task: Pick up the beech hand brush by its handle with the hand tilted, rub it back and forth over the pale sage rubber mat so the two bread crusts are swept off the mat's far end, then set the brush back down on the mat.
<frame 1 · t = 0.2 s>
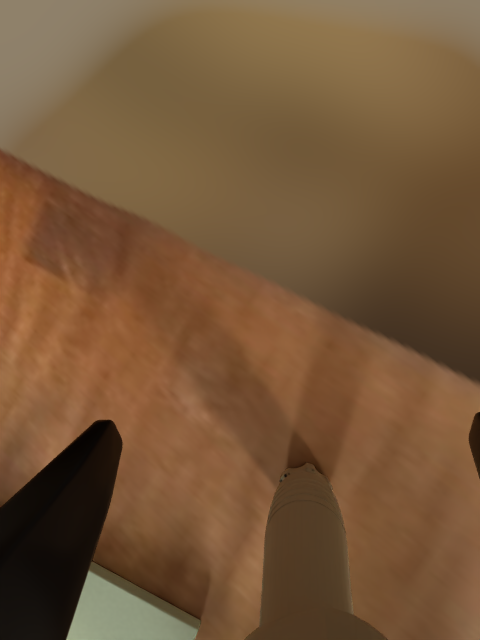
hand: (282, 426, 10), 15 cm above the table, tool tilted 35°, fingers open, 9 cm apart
handle: (304, 484, 25), on the table
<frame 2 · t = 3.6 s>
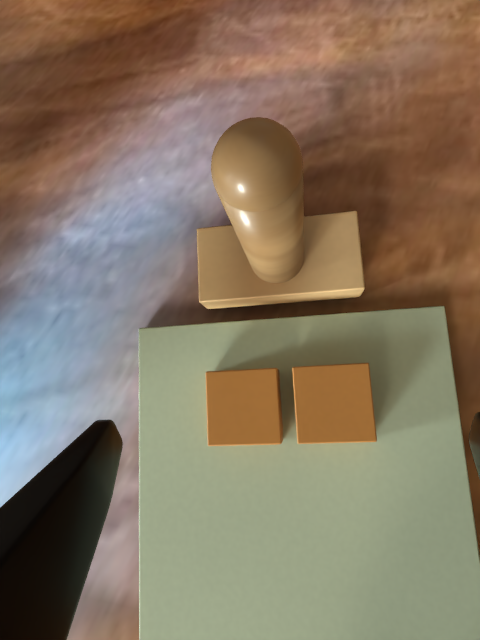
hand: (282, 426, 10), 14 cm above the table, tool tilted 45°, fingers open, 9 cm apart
crust a: (331, 402, 22), point 1 cm above the table, touching mat
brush: (280, 272, 25), on the table
crust b: (246, 405, 23), point 1 cm above the table, touching mat
mat: (294, 493, 22), on the table
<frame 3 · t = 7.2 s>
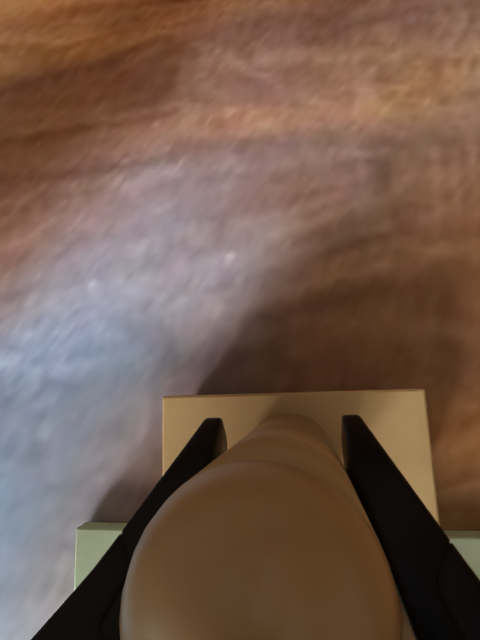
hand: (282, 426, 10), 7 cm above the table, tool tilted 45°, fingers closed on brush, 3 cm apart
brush: (293, 446, 16), on the table, touching gripper
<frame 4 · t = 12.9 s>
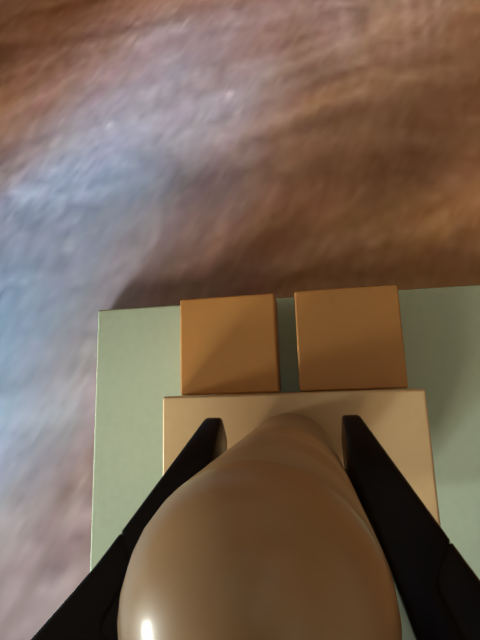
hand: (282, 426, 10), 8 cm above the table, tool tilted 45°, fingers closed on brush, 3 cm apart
crust a: (345, 342, 17), point 1 cm above the table, touching mat
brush: (293, 446, 16), point 1 cm above the table, touching gripper
crust b: (234, 347, 18), point 1 cm above the table
mat: (299, 533, 17), on the table
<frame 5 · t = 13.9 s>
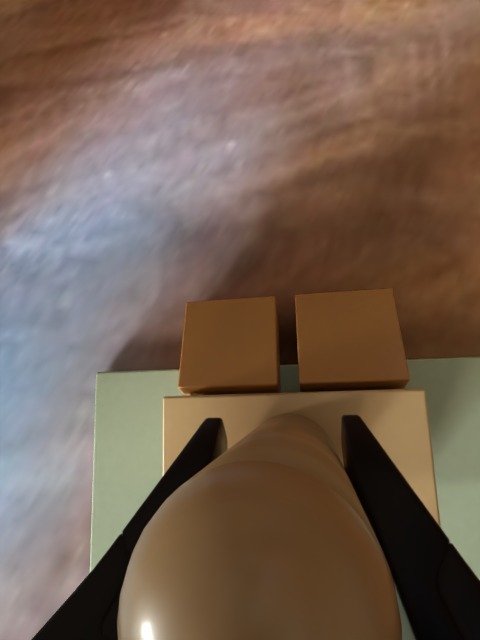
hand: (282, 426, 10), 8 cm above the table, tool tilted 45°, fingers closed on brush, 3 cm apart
crust a: (345, 349, 17), point 1 cm above the table, tilted 18°
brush: (293, 446, 16), point 1 cm above the table, touching crust b, gripper
crust b: (234, 355, 18), point 1 cm above the table, tilted 18°, touching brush
mat: (303, 612, 16), on the table
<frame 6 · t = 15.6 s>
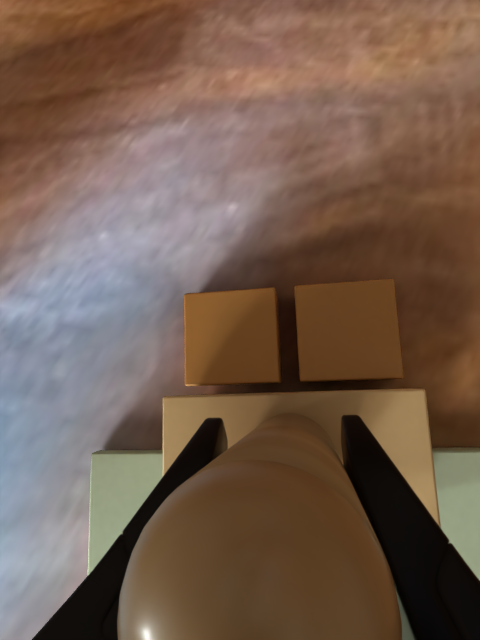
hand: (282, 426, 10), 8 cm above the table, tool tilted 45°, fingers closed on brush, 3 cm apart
crust a: (343, 334, 17), on the table
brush: (293, 446, 16), point 1 cm above the table, touching gripper
crust b: (236, 340, 18), on the table
when the fingers open (7 cm above the table, at t = 20.7 s): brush stays where it is, resting on mat.
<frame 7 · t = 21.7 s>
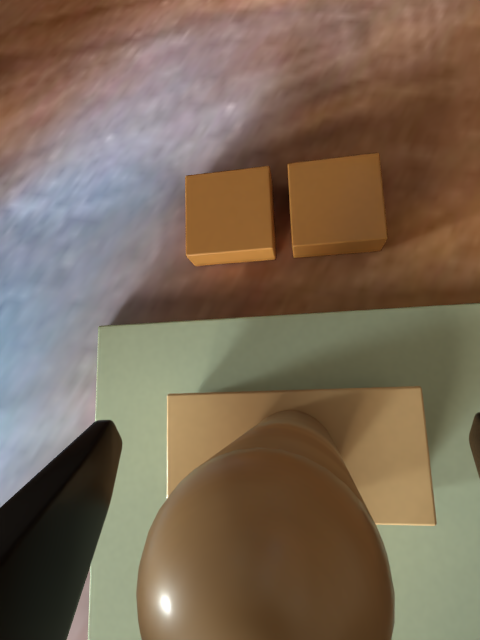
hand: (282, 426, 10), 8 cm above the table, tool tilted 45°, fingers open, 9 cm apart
crust a: (333, 214, 19), on the table
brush: (293, 443, 16), point 1 cm above the table, touching mat
crust b: (233, 224, 19), on the table
mat: (300, 553, 16), on the table
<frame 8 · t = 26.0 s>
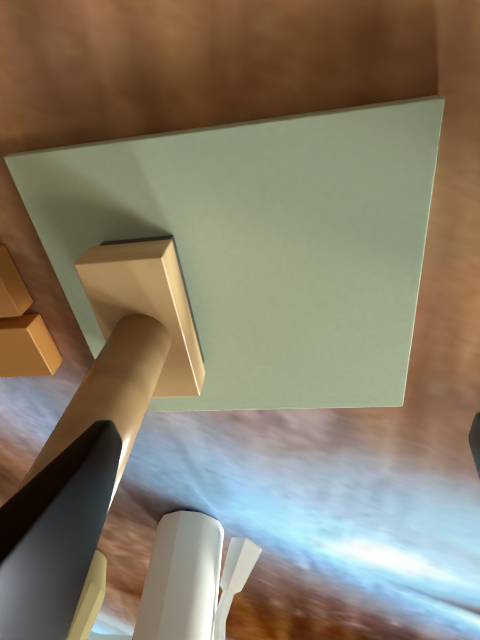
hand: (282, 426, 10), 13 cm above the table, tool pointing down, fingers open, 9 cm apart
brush: (158, 306, 23), point 1 cm above the table, touching mat
crust b: (25, 338, 27), on the table
squeeze bottle: (82, 551, 45), on the table
white spray bottle: (202, 526, 39), on the table
mat: (235, 293, 23), on the table
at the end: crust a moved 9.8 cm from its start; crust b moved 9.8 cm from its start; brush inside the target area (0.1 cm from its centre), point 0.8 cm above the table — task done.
